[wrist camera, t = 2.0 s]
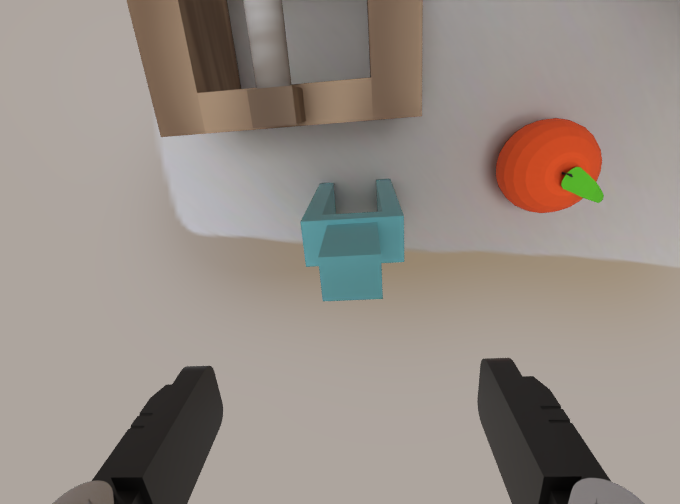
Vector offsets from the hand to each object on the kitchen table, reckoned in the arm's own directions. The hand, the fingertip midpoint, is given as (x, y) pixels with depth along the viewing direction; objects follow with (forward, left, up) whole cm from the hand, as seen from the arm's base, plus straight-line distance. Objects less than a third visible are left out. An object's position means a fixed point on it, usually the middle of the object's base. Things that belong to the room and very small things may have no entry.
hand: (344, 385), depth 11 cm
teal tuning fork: (0, 0, -24) cm, 24 cm away
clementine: (-15, -2, -24) cm, 28 cm away
